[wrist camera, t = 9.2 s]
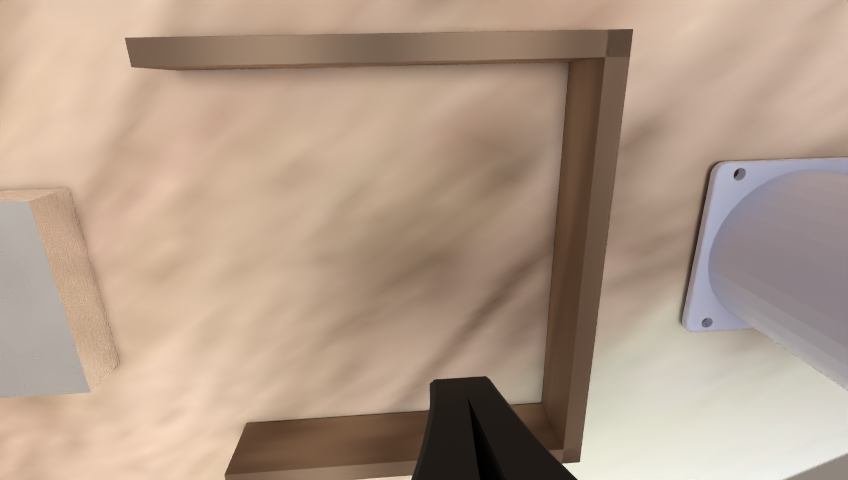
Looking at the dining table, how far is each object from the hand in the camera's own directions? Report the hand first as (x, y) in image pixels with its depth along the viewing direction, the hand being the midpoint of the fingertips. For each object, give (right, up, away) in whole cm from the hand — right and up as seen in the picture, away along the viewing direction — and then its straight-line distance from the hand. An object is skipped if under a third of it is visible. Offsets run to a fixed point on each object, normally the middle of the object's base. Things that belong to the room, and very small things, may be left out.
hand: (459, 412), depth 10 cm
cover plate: (-19, +2, +8) cm, 21 cm away
